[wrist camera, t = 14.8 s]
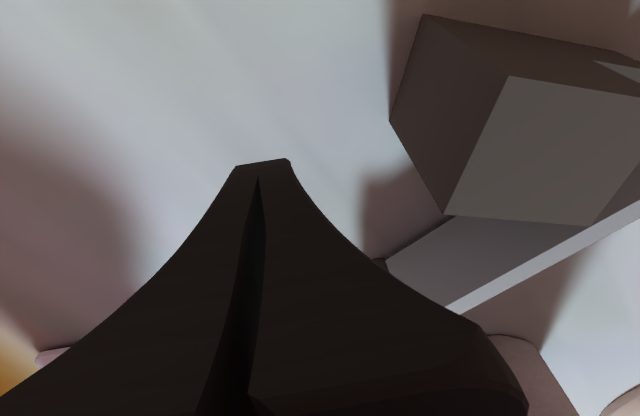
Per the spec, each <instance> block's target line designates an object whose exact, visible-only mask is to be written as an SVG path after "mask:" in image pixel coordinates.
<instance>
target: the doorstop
mask: <svg viewBox="0 0 640 416" xmlns="http://www.w3.org/2000/svg"><path fill="white" fill-rule="evenodd" d="M389 122H390V124H391V126H392V127H393V129H394V131H395V133H396V134H397V136H398V138H399V139H400V141H401V143H402V145H403V146H404V148H405V150H406V152H407V153H408V155H409V157H410V158H411V160H412V162H413V164H414V165H415V167H416V169H417V170H418V172H419V174H420V176H421V177H422V179H423V181H424V182H425V184H426V186H427V188H428V189H429V191H430V193H431V195H432V196H433V198H434V200H435V201H436V203H437V205H438V207H439V208H440V210H441V212H442V213H443V215H455V216H468V217H480V218H493V219H505V220H517V221H530V222H542V223H554V224H567V225H579V226H591V225H592V223H593V222H594V221H595V219H596V218H597V217H598V216H599V214H600V213H601V212H602V210H603V209H604V208H605V206H606V205H607V204H608V203H609V201H610V200H611V199H612V197H613V196H614V195H615V193H616V192H617V191H618V189H619V188H620V187H621V186H622V184H623V183H624V182H625V180H626V179H627V178H628V176H629V175H630V174H631V173H632V171H633V170H634V169H635V167H636V166H637V165H638V163H639V162H640V62H638V61H636V60H634V59H631V58H629V57H627V56H624V55H622V54H620V53H618V52H615V51H611V50H606V49H601V48H595V47H590V46H585V45H580V44H575V43H570V42H565V41H560V40H554V39H549V38H544V37H539V36H534V35H529V34H524V33H519V32H513V31H508V30H503V29H498V28H493V27H488V26H483V25H477V24H472V23H467V22H462V21H457V20H452V19H447V18H442V17H436V16H431V15H426V14H423V15H422V18H421V21H420V24H419V27H418V30H417V34H416V37H415V40H414V43H413V46H412V49H411V52H410V56H409V59H408V62H407V65H406V68H405V71H404V75H403V78H402V81H401V84H400V87H399V90H398V94H397V97H396V100H395V103H394V106H393V109H392V113H391V116H390V119H389Z"/></svg>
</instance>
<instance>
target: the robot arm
mask: <svg viewBox="0 0 640 416" xmlns="http://www.w3.org/2000/svg"><path fill="white" fill-rule="evenodd" d="M35 362H36V364H37V365H38V366H39V367H40V368H41V369H40V370H39V371H37V372H36V373H34V374H33V375H31V376H30V377H28V378H27V379H25V380H24V381H23V382H21V383H20V384H18V385H17V386H15V387H14V388H12V389H11V390H9V391H8V392H6V393H5V394H4V395H2V396H1V397H0V416H528V410H529V403H528V400H527V398H526V396H525V394H524V392H523V390H522V388H521V386H520V384H519V382H518V380H517V378H516V376H515V375H514V373H513V372H512V370H511V368H510V367H509V365H508V364H507V363H506V361H505V360H504V358H503V357H502V355H501V354H500V353H499V351H498V350H497V348H496V347H495V346H494V344H493V343H492V342H491V340H490V339H489V338H488V336H487V335H486V334H485V332H484V331H483V330H482V329H481V327H480V326H479V325H478V324H476V323H474V322H472V321H470V320H468V319H466V318H464V317H463V316H461V315H459V314H457V313H455V312H453V311H451V310H449V309H447V308H445V307H443V306H442V305H440V304H438V303H436V302H434V301H432V300H430V299H429V298H427V297H425V296H424V295H422V294H421V293H419V292H417V291H416V290H414V289H412V288H411V287H409V286H408V285H406V284H404V283H403V282H402V281H400V280H399V279H397V278H396V277H395V276H393V275H392V274H390V273H389V272H388V271H386V270H385V269H384V268H382V267H381V266H379V265H378V264H377V263H375V262H374V261H372V260H371V259H370V258H369V257H367V256H366V255H365V254H364V253H363V252H361V251H360V250H359V249H358V248H357V247H355V246H354V245H353V244H352V243H351V242H350V241H349V240H348V239H347V238H346V237H345V236H343V235H342V234H341V233H340V232H339V231H338V230H337V229H336V228H335V226H334V225H333V224H332V223H331V222H330V221H329V220H328V219H327V218H326V217H325V216H324V214H323V213H322V212H321V211H320V210H319V208H318V207H317V206H316V205H315V204H314V202H313V201H312V200H311V198H310V197H309V195H308V194H307V193H306V191H305V190H304V188H303V187H302V185H301V184H300V182H299V181H298V179H297V177H296V175H295V173H294V171H293V169H292V167H291V163H290V161H289V160H287V159H286V158H282V159H276V160H269V161H263V162H257V163H251V164H244V165H238V166H235V168H234V169H233V170H232V172H231V174H230V175H229V177H228V178H227V180H226V182H225V183H224V185H223V187H222V188H221V190H220V192H219V193H218V195H217V196H216V198H215V200H214V201H213V202H212V204H211V205H210V207H209V208H208V210H207V211H206V213H205V214H204V216H203V217H202V219H201V220H200V222H199V223H198V224H197V226H196V227H195V228H194V230H193V231H192V232H191V233H190V235H189V236H188V237H187V239H186V240H185V241H184V243H183V244H182V245H181V246H180V248H179V249H178V250H177V251H176V252H175V253H174V255H173V256H172V257H171V258H170V259H169V260H168V261H167V262H166V263H165V264H164V265H163V266H162V267H161V269H160V270H159V271H158V272H157V273H156V274H155V275H154V276H153V277H152V278H151V279H150V280H149V281H148V282H147V283H146V284H145V285H143V286H142V287H141V288H140V289H139V290H138V291H137V292H136V293H135V294H134V295H133V296H131V297H130V298H129V299H128V300H127V301H126V302H125V303H124V304H123V305H122V306H121V307H119V308H118V309H117V310H116V311H115V312H114V313H113V314H112V315H110V316H109V317H108V318H107V319H106V320H104V321H103V322H102V323H101V324H99V325H98V326H97V327H96V328H95V329H93V330H92V331H91V332H90V333H88V334H87V335H86V336H84V337H83V338H82V339H81V340H79V341H78V342H77V343H75V344H74V345H73V346H71V347H66V348H60V349H54V350H48V351H43V352H40V353H39V354H38V355H37V357H36V359H35Z"/></svg>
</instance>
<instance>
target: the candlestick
mask: <svg viewBox="0 0 640 416" xmlns="http://www.w3.org/2000/svg"><path fill="white" fill-rule="evenodd" d="M600 416H640V386H638V387H636V388H634V389H633V390H631V391H629V392H627V393H625V394H624V395H622V396H621V397H619V398H618V399H616V400H615V401H614V402H612V403H611V404H610V405H609V406H607V407H606V408H605V409H604V410H603V412H602V413H601V414H600Z"/></svg>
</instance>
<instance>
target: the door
mask: <svg viewBox="0 0 640 416" xmlns="http://www.w3.org/2000/svg"><path fill="white" fill-rule="evenodd" d="M639 218H640V162H639V163H638V165H637V166H636V167H635V169H634V170H633V171H632V173H631V174H630V175H629V176H628V178H627V179H626V180H625V182H624V183H623V184H622V186H621V187H620V188H619V189H618V191H617V192H616V193H615V195H614V196H613V197H612V199H611V200H610V201H609V203H608V204H607V205H606V206H605V208H604V209H603V210H602V212H601V213H600V214H599V216H598V217H597V218H596V219H595V221H594V222H593V223H592V225H591V226H579V225H567V224H554V223H542V222H530V221H517V220H505V219H493V218H480V217H468V216H456V217H454V218H452V219H451V220H449V221H448V222H446V223H444V224H443V225H441V226H440V227H438V228H436V229H435V230H433V231H432V232H430V233H428V234H427V235H425V236H424V237H422V238H420V239H419V240H417V241H416V242H414V243H412V244H411V245H409V246H408V247H406V248H404V249H403V250H401V251H400V252H398V253H396V254H395V255H393V256H392V257H390V258H388V259H387V260H385V261H386V264H387V267H388V270H389V273H390V274H392V275H393V276H395V277H396V278H397V279H399V280H400V281H402V282H403V283H404V284H406V285H408V286H409V287H411V288H412V289H414V290H416V291H417V292H419V293H421V294H422V295H424V296H425V297H427V298H429V299H430V300H432V301H434V302H436V303H438V304H440V305H442V306H443V307H445V308H447V309H449V310H451V311H453V312H455V313H457V314H459V315H460V314H462V313H464V312H466V311H468V310H470V309H471V308H473V307H475V306H477V305H479V304H481V303H483V302H485V301H486V300H488V299H490V298H492V297H494V296H496V295H498V294H499V293H501V292H503V291H505V290H507V289H509V288H511V287H513V286H514V285H516V284H518V283H520V282H522V281H524V280H526V279H527V278H529V277H531V276H533V275H535V274H537V273H539V272H541V271H542V270H544V269H546V268H548V267H550V266H552V265H554V264H555V263H557V262H559V261H561V260H563V259H565V258H567V257H569V256H570V255H572V254H574V253H576V252H578V251H580V250H582V249H583V248H585V247H587V246H589V245H591V244H593V243H595V242H597V241H598V240H600V239H602V238H604V237H606V236H608V235H610V234H611V233H613V232H615V231H617V230H619V229H621V228H623V227H625V226H626V225H628V224H630V223H632V222H634V221H636V220H638V219H639Z"/></svg>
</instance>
